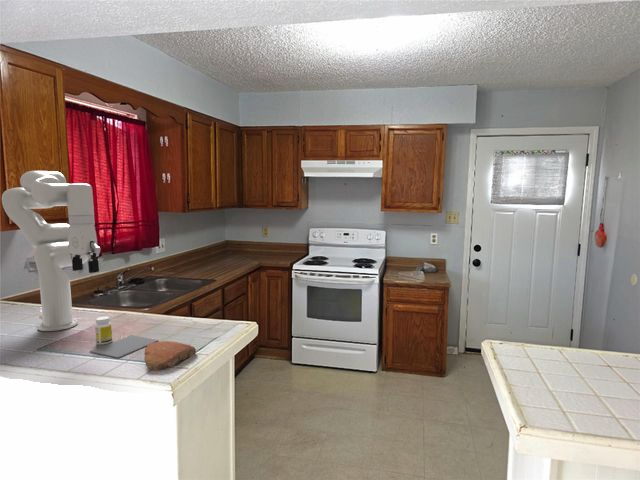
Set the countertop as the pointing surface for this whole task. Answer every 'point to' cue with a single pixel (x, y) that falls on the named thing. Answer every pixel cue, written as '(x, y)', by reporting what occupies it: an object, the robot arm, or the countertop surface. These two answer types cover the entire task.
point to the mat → (123, 346)
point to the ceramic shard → (166, 354)
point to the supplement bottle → (103, 330)
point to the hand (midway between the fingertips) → (85, 271)
